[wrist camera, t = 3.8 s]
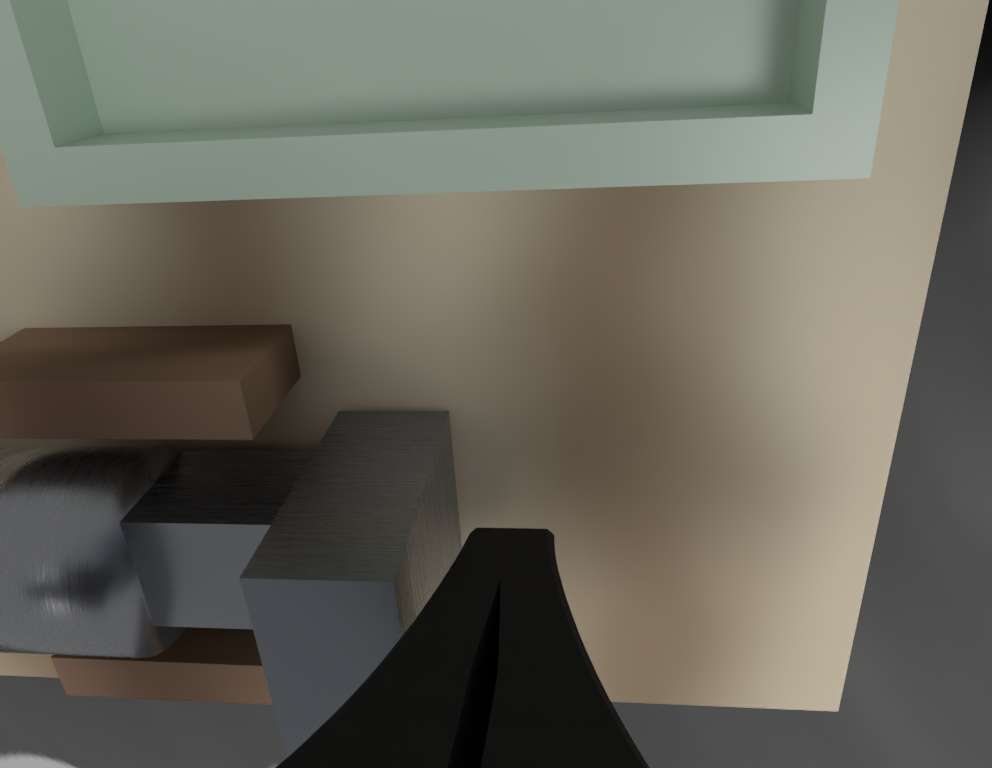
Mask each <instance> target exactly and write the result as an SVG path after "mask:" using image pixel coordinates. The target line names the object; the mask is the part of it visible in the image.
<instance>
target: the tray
mask: <svg viewBox="0 0 992 768" xmlns="http://www.w3.org/2000/svg"><path fill="white" fill-rule="evenodd" d="M898 6H899V0H0V148H1V151H2V154H3V157H4V160H5V163H6V165H7V168H8V171H9V174H10V177H11V180H12V183H13V186H14V189H15V192H16V195H17V198H18V201H19V204H20V207H46V206H75V205H104V204H134V203H163V202H192V201H221V200H251V199H280V198H309V197H339V196H368V195H397V194H426V193H456V192H485V191H514V190H544V189H573V188H602V187H632V186H661V185H690V184H719V183H749V182H778V181H807V180H837V179H866V178H870V176H871V170H872V164H873V158H874V152H875V146H876V140H877V134H878V128H879V122H880V116H881V110H882V104H883V98H884V91H885V85H886V79H887V73H888V67H889V61H890V55H891V49H892V43H893V37H894V31H895V25H896V19H897V13H898Z"/></svg>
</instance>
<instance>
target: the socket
mask: <svg viewBox="0 0 992 768" xmlns="http://www.w3.org/2000/svg"><path fill="white" fill-rule="evenodd" d="M300 377H301V374H300V369H299V363H298V358H297V353H296V348H295V342H294V337H293V332H292V327H291V324H278V325H207V326H137V327H66V328H24V329H22V330H20V331H18V332H17V333H15V334H13V335H11V336H10V337H8V338H6V339H5V340H3V341H1V342H0V439H203V440H253V439H254V438H255V437H256V435H257V434H258V433H259V431H260V430H261V429H262V427H263V426H264V425H265V423H266V422H267V421H268V419H269V418H270V417H271V415H272V414H273V413H274V411H275V410H276V409H277V407H278V406H279V405H280V403H281V402H282V401H283V399H284V398H285V397H286V396H287V394H288V393H289V392H290V390H291V389H292V388H293V386H294V385H295V384H296V382H297V381H298V380H299V378H300ZM51 660H52V662H53V664H54V667H55V669H56V671H57V674H58V676H59V678H60V680H61V683H62V685H63V687H64V690H65V692H66V694H67V695H75V696H97V697H119V698H140V699H162V700H184V701H205V702H227V703H249V704H270V705H273V703H272V699H271V695H270V692H269V688H268V684H267V680H266V677H265V673H264V669H263V666H262V662H261V658H260V654H259V651H258V647H257V643H256V639H255V636H254V632H253V629H226V628H197V627H186V629H185V630H184V632H183V633H182V634H181V635H180V637H179V638H178V639H177V640H176V641H175V642H174V643H173V644H172V645H171V646H170V647H169V648H167V649H166V650H165V651H163V652H162V653H160V654H158V655H156V656H152V657H149V658H129V657H104V656H78V655H52V656H51Z"/></svg>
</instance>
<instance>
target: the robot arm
mask: <svg viewBox="0 0 992 768" xmlns="http://www.w3.org/2000/svg"><path fill="white" fill-rule="evenodd" d="M276 768H649V766H648V765H647V763H646V762H645V760H644V758H643V757H642V755H641V753H640V752H639V750H638V748H637V747H636V745H635V743H634V742H633V740H632V738H631V737H630V735H629V733H628V732H627V730H626V728H625V726H624V725H623V723H622V721H621V719H620V717H619V716H618V714H617V712H616V710H615V708H614V707H613V705H612V703H611V701H610V699H609V697H608V695H607V693H606V691H605V689H604V687H603V685H602V683H601V681H600V679H599V677H598V675H597V673H596V671H595V668H594V666H593V664H592V662H591V660H590V657H589V655H588V653H587V651H586V649H585V646H584V644H583V641H582V639H581V637H580V634H579V632H578V629H577V626H576V623H575V621H574V618H573V615H572V613H571V610H570V607H569V604H568V602H567V599H566V595H565V592H564V589H563V585H562V582H561V578H560V574H559V570H558V566H557V561H556V555H555V538H554V534H553V533H551V532H550V531H549V530H548V529H533V528H475V529H474V530H473V531H472V532H471V533H470V534H469V536H468V538H467V540H466V542H465V544H464V545H463V547H462V549H461V551H460V552H459V554H458V556H457V558H456V559H455V561H454V563H453V564H452V566H451V567H450V569H449V571H448V572H447V574H446V575H445V577H444V578H443V580H442V581H441V583H440V585H439V586H438V588H437V589H436V590H435V592H434V593H433V595H432V596H431V598H430V599H429V600H428V602H427V603H426V605H425V606H424V608H423V609H422V610H421V612H420V613H419V615H418V616H417V617H416V619H415V620H414V622H413V623H412V624H411V626H410V627H409V628H408V629H407V631H406V632H405V633H404V634H403V636H402V637H401V638H400V639H399V641H398V642H397V643H396V644H395V646H394V647H393V648H392V649H391V651H390V652H389V653H388V654H387V656H386V657H385V658H384V659H383V661H382V662H381V663H380V664H379V665H378V667H377V668H376V669H375V670H374V671H373V672H372V673H371V675H370V676H369V677H368V678H367V679H366V680H365V681H364V683H363V684H362V685H361V686H360V687H359V688H358V689H357V690H356V691H355V692H354V693H353V694H352V695H351V697H350V698H349V699H348V700H347V701H346V702H345V703H344V704H343V705H342V706H341V707H340V708H339V709H338V710H337V711H336V712H335V713H334V714H333V715H332V716H331V717H330V718H329V719H328V720H327V721H326V722H325V723H324V724H323V725H322V726H321V727H320V728H319V729H317V730H316V731H315V732H314V733H313V734H312V735H311V736H310V737H309V738H308V739H307V740H306V741H305V742H304V743H303V744H302V745H301V746H300V747H298V748H297V749H296V750H295V751H294V752H293V753H292V754H291V755H290V756H288V757H287V758H286V759H285V760H284V761H283V762H282V763H280V764H279V765H278V766H277V767H276Z"/></svg>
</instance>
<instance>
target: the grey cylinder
mask: <svg viewBox="0 0 992 768" xmlns="http://www.w3.org/2000/svg"><path fill="white" fill-rule="evenodd" d="M182 451H183V450H180V449H178V448H176V447H171V446H18V445H0V652H2V653H28V654H53V655H78V656H104V657H129V658H149V657H152V656H156V655H158V654H160V653H162V652H163V651H165V650H166V649H167V648H169V647H170V646H171V645H172V644H173V643H174V642H175V641H176V640H177V639H178V638H179V637H180V635H181V634H182V633H183V632H184V630H185V629H186V627H168V626H155V625H154V622H153V619H152V616H151V613H150V610H149V607H148V604H147V602H146V599H145V596H144V593H143V590H142V587H141V584H140V581H139V578H138V575H137V573H136V570H135V567H134V564H133V561H132V558H131V555H130V552H129V549H128V546H127V543H126V541H125V538H124V535H123V532H122V529H121V526H120V523H119V522H120V521H121V520H122V519H123V518H124V516H125V515H126V514H127V513H128V512H129V511H130V510H131V509H132V508H133V506H134V505H135V504H136V503H137V502H138V501H139V500H140V499H141V497H142V496H143V495H144V494H145V493H146V492H147V491H148V490H149V488H150V487H151V486H152V485H153V484H154V483H155V482H156V481H157V480H158V478H159V477H160V476H161V475H162V474H163V473H164V472H165V471H166V469H167V468H168V467H169V466H170V465H171V464H172V463H173V462H174V460H175V459H176V458H177V457H178V456H179V455H180V454H181V453H182Z"/></svg>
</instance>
